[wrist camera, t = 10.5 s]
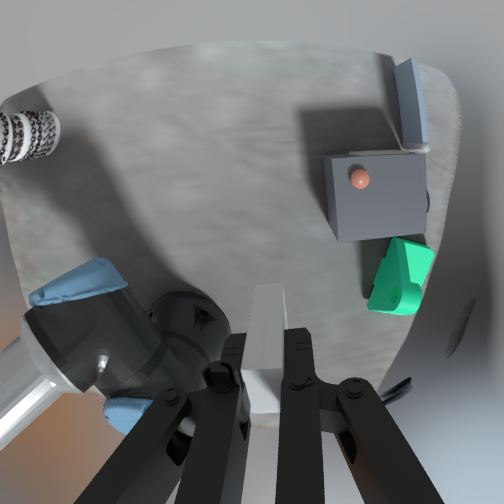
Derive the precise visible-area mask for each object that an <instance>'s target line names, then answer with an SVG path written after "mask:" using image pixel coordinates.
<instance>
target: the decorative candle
mask: <svg viewBox="0 0 504 504" xmlns="http://www.w3.org/2000/svg"><path fill="white" fill-rule="evenodd" d="M60 133H61V128H60V121H59V119H58V117H57V115H56V114H54V113H53V112H51V111H45V112H43V113H42V111H39V112H38V113H37V111H32V112H31V113H30V111H27V112H25V113H24V112H23V111H21V112H20V113H19V114H12V115H6V114H5V113H0V166H2V165H3V164H4V163H5V162H7V161H10V162H13V161H18V162H21V161H22V160H28V159H35V158H40V157H41V156H46V155H49V154H51V153H52V152H53V151H54V150H55V149H56V147H57V144H58V142H59V139H60Z"/></svg>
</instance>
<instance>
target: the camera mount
mask: <svg viewBox="0 0 504 504" xmlns="http://www.w3.org/2000/svg"><path fill="white" fill-rule="evenodd" d="M433 257H434V252H433V251H432V250H431V249H430V248H429V247H428V246H425V245H422V244H418V243H415V242H411V241H407V240H404V239H400V238H396V237H392V239H391V242H390V245H389V248H388V251H387V254H386V257H383V258H382V261H381V263H380V266H379V269H378V271H377V274H376V277H375V279H374V282H373V284H374V289H373V291H372V294H371V296H370V298H369V301H368V303H367V306H368V309H369V310H372V311H378V312H384V313H390V314H397V315H403V316H404V315H407V314H413V313H415V312H416V311H417V309H418V308H419V306H420V303H421V298H422V290H421V286H422V284H423V282H424V279H425V277H426V275H427V272H428V270H429V267H430V265H431V262H432V260H433Z"/></svg>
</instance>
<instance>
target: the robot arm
mask: <svg viewBox="0 0 504 504" xmlns="http://www.w3.org/2000/svg"><path fill="white" fill-rule="evenodd" d="M128 285H129V284H128V282H127V281H124V279H123V278H122V277H121V275H120V274H119V272H118V271H117V270H116V268H115V267H114V265H113V264H112V263H111V262H110V261H109V260H108V259H106V258H102V257H98V258H94V259H92V260H90V261H88V262H86V263H84V264H82V265H80V266H78V267H77V268H75V269H73V270H71V271H69V272H67V273H65V274H63V275H62V276H60V277H58V278H56V279H54V280H53V281H51V282H49V283H47V284H46V285H44V286H42V287H40V288H39V289H37V290H35V291H33V292H32V293H30V294H29V301H30V302H29V303H30V305H31V306H33V307H32V308H31V309H30V310H29V311H27V312H26V313H25V314H24V315H23V316H22V317H23V318H22V329H21V333H20V335H19V336H18V337H17V338H16V339H14V340H13V341H12V342H11V343H10V344H9V345H7V346H6V347H5V348H4V349H3V350H2V351H1V352H0V450H2V449H3V448H4V447H5V446H6V445H7V444H8V443H9V442H10V441H11V440H12V439H13V438H15V437H16V436H17V435H18V434H19V433H20V432H21V431H22V430H23V429H24V428H26V427H27V426H28V425H29V424H30V423H31V422H32V421H33V420H34V419H35V418H37V417H38V416H39V415H40V414H41V413H42V412H43V411H44V410H45V409H47V408H48V407H49V406H50V405H51V404H52V403H53V402H54V401H55V400H57V399H58V398H59V397H60V396H61V395H62V394H63V393H66V392H71V393H78V394H83V393H84V392H85V391H86V390H87V389H89V388H90V387H91V386H92V385H93V384H94V385H95V386H96V387H97V388H98V389H99V390H100V392H101V393H102V394H103V395H104V396H105V397H106V398H107V400H106V401H105V403H104V405H103V406H104V408H103V413H104V416H105V418H106V420H107V421H108V422H109V423H110V424H111V425H112V426H113V427H115V428H116V429H117V430H118V431H120V432H122V433H123V434H125V435H127V436H126V437H125V438H124V440H123V441H122V442H121V443H120V445H119V446H118V447H117V449H116V450H115V451H114V453H113V454H112V455H111V456H110V458H109V459H108V460H107V461H106V463H105V464H104V465H103V467H102V468H101V469H100V471H99V472H98V473H97V474H96V476H95V477H94V478H93V479H92V481H91V482H90V483H89V485H88V486H87V487H86V488H85V490H84V491H83V492H82V493H81V495H80V496H79V497H78V499H77V500H76V501H75V502H74V504H165V503H166V501H167V500H168V498H169V496H170V495H171V493H172V492H173V490H174V488H175V487H176V485H177V483H178V482H179V480H180V478H181V480H180V484H179V488H178V491H177V495H176V499H175V503H174V504H241V498H242V491H243V483H244V476H245V468H246V460H247V452H248V444H249V436H250V428H251V420H250V417H249V414H250V408H251V412H252V413H279V412H280V425H279V447H278V465H277V482H276V497H275V504H325V495H324V472H323V455H322V438H321V431H325V432H330V433H334V435H335V437H336V439H337V441H338V443H339V446H340V448H341V451H342V453H343V455H344V457H345V460H346V462H347V464H348V467H349V469H350V471H351V473H352V476H353V478H354V480H355V482H356V485H357V487H358V489H359V492H360V494H361V496H362V499H363V501H364V503H365V504H444V502H443V500H442V499H441V497H440V495H439V493H438V492H437V490H436V488H435V487H434V485H433V483H432V482H431V480H430V478H429V477H428V475H427V473H426V471H425V470H424V468H423V467H422V465H421V463H420V462H419V460H418V458H417V457H416V455H415V453H414V452H413V450H412V448H411V447H410V445H409V444H408V442H407V440H406V439H405V437H404V436H403V434H402V432H401V431H400V429H399V428H398V426H397V424H396V423H395V421H394V420H393V418H392V416H391V415H390V413H389V412H388V410H387V409H386V407H385V405H384V404H383V402H382V401H381V399H380V398H379V396H378V394H377V393H376V391H375V390H374V388H373V387H372V385H371V384H370V383H369V382H368V381H367V380H365V379H362V378H356V377H354V378H348V379H346V380H344V381H342V382H341V383H340V384H339V385H336V384H329V383H326V382H323V381H321V380H320V379H319V378H318V377H317V375H316V373H315V367H314V358H313V349H312V340H311V334H310V332H309V331H308V330H307V329H306V328H295V329H288V325H287V314H286V306H285V297H284V289H283V282H281V283H271V284H261V285H255V290H254V296H253V302H252V308H251V313H250V319H249V325H248V331H247V333H239V334H231V330H230V325H229V322H228V320H227V318H226V316H225V315H224V313H223V312H222V311H221V310H220V309H219V308H218V307H217V306H216V305H215V304H214V303H212V302H211V301H209V300H208V299H206V298H204V297H202V296H199V295H196V294H193V293H188V292H174V293H169V294H166V295H164V296H162V297H161V298H159V299H158V300H157V301H156V302H155V303H154V305H153V306H152V308H151V309H150V311H149V313H148V315H147V313H146V312H145V310H144V309H143V308H142V306H141V305H140V303H139V302H138V300H137V299H136V297H135V296H134V294H133V293H132V291H131V290H130V288H129V287H128ZM206 386H207V387H206Z"/></svg>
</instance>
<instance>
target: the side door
mask: <svg viewBox="0 0 504 504" xmlns="http://www.w3.org/2000/svg"><path fill="white" fill-rule="evenodd" d="M393 70H394V75H395V81H396V87H397V93H398V100H399V108H400V116H401V125H402V135H403V143H402V147H403V148H404V149H407V150H414V151H421V152H429V150H430V146H429V144H428V136H427V124H426V115H425V107H424V99H423V92H422V86H421V80H420V74H419V69H418V64H417V59H414V58H410V59H408V60H407V61H405V62H403V63H401V64H399V65H397V66H396V67H394V68H393Z"/></svg>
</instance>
